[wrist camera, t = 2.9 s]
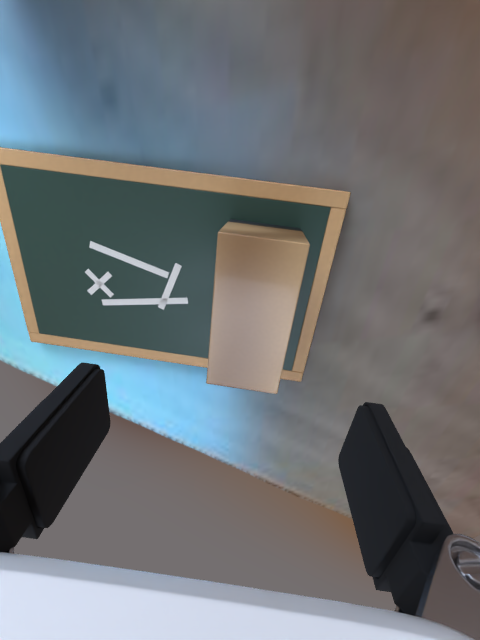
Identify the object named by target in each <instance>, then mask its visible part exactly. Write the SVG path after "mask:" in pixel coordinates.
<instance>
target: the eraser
mask: <svg viewBox="0 0 480 640" xmlns="http://www.w3.org/2000/svg"><path fill="white" fill-rule="evenodd" d="M309 247H310V244H309V242H308V240H307V238H306V237H305V235H304V233H303V231H302V230H301V228H295V227H287V226H280V225H272V224H264V223H257V222H249V221H242V220H234V219H230V220H229V221H228V222H227V223H226V224H225V225H224V226H223V227H222V228H221V229H220V231H219V232H218V237H217V250H216V263H215V276H214V289H213V303H212V316H211V329H210V342H209V355H208V368H207V382H206V383H207V384H214V385H220V386H227V387H233V388H240V389H247V390H253V391H260V392H266V393H273V394H277V392H278V388H279V383H280V379H281V374H282V370H283V365H284V361H285V356H286V351H287V347H288V342H289V338H290V333H291V329H292V324H293V320H294V315H295V311H296V306H297V302H298V297H299V293H300V288H301V284H302V279H303V275H304V270H305V266H306V261H307V257H308V252H309Z"/></svg>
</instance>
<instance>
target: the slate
mask: <svg viewBox="0 0 480 640" xmlns="http://www.w3.org/2000/svg"><path fill="white" fill-rule="evenodd" d="M350 194H351V193H350V192H346V191H339V190H331V189H323V188H315V187H307V186H299V185H292V184H284V183H276V182H268V181H260V180H252V179H245V178H237V177H229V176H221V175H213V174H205V173H197V172H190V171H182V170H174V169H166V168H158V167H150V166H143V165H135V164H127V163H119V162H111V161H103V160H96V159H88V158H80V157H72V156H64V155H56V154H49V153H41V152H33V151H25V150H17V149H9V148H2V147H0V222H1V226H2V230H3V234H4V238H5V242H6V246H7V250H8V254H9V258H10V262H11V265H12V269H13V273H14V277H15V281H16V285H17V289H18V293H19V297H20V301H21V305H22V309H23V313H24V317H25V321H26V325H27V329H28V332H29V336H30V340H31V341H32V342H39V343H45V344H52V345H59V346H65V347H72V348H79V349H85V350H92V351H99V352H105V353H112V354H119V355H126V356H132V357H139V358H146V359H152V360H159V361H166V362H172V363H179V364H186V365H192V366H199V367H206V368H208V355H209V342H210V329H211V316H212V303H213V289H214V276H215V263H216V250H217V237H218V232H219V231H220V229H221V228H222V227H223V226H224V225H225V224H226V223H227V222H228V221H229V220H230V219H234V220H242V221H249V222H257V223H264V224H272V225H280V226H287V227H295V228H301V230H302V231H303V233H304V235H305V237H306V238H307V240H308V242H309V244H310V247H309V252H308V257H307V261H306V266H305V270H304V275H303V279H302V284H301V288H300V293H299V297H298V302H297V306H296V311H295V315H294V320H293V324H292V329H291V333H290V338H289V342H288V347H287V351H286V356H285V361H284V365H283V370H282V374H281V379H286V380H293V381H299V382H301V380H302V376H303V372H304V369H305V365H306V361H307V357H308V353H309V350H310V346H311V342H312V338H313V334H314V331H315V327H316V323H317V319H318V315H319V312H320V308H321V304H322V300H323V296H324V293H325V289H326V285H327V281H328V277H329V273H330V270H331V266H332V262H333V258H334V254H335V251H336V247H337V243H338V239H339V235H340V232H341V228H342V224H343V220H344V216H345V213H346V208H347V205H348V201H349V198H350Z"/></svg>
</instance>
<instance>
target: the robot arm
mask: <svg viewBox="0 0 480 640" xmlns="http://www.w3.org/2000/svg"><path fill="white" fill-rule="evenodd" d="M109 428H110V415H109V407H108V399H107V391H106V382H105V374H104V370H102V369H100V366H99V365H96V364H89V363H80V364H79V365H78V366H77V367H76V368H75V369H74V370H73V371H72V372H71V373H70V374H69V375H68V376H67V377H66V378H65V379H64V380H63V381H62V382H61V383H60V384H59V385H58V386H57V387H56V388H55V389H54V390H53V391H52V393H50V394H49V395H48V396H47V397H46V398H45V399H44V400H43V401H42V402H41V403H40V404H39V405H38V406H37V407H36V408H35V409H34V410H33V411H32V412H31V413H30V414H29V415H28V416H27V417H26V418H25V419H24V420H23V421H22V422H21V423H20V424H19V425H18V426H17V427H16V428H15V429H14V430H13V431H12V432H11V433H10V434H9V435H8V436H7V437H6V438H5V439H4V440H3V441H2V442H1V443H0V640H480V543H479V542H477V541H476V540H474V539H472V538H471V537H468V536H465V535H462V534H453V532H452V530H451V528H450V526H449V524H448V522H447V520H446V519H445V517H444V515H443V513H442V511H441V509H440V507H439V505H438V503H437V502H436V500H435V498H434V496H433V494H432V492H431V490H430V488H429V486H428V485H427V483H426V481H425V479H424V477H423V475H422V473H421V471H420V469H419V468H418V466H417V464H416V462H415V460H414V458H413V456H412V454H411V453H410V451H409V450H408V448H406V447H405V445H404V443H403V441H402V439H401V437H400V435H399V433H398V431H397V430H396V428H395V426H394V424H393V422H392V420H391V418H390V416H389V414H388V412H387V410H386V408H385V407H384V405H382V404H376V403H368V402H365V403H364V404H363V406H359V407H358V409H357V411H356V414H355V416H354V419H353V421H352V424H351V427H350V429H349V432H348V434H347V437H346V439H345V442H344V444H343V447H342V449H341V452H340V454H339V468H340V472H341V476H342V480H343V483H344V487H345V491H346V495H347V499H348V503H349V507H350V511H351V514H352V518H353V522H354V526H355V530H356V534H357V538H358V542H359V545H360V549H361V553H362V557H363V561H364V565H365V568H366V571H367V573H368V575H369V576H372V577H373V580H374V584H375V588H376V590H380V591H387V592H391V593H392V596H393V599H394V603H395V604H396V605H397V606H396V608H395V611H390V610H384V609H379V608H373V607H368V606H362V605H357V604H350V603H345V602H340V601H334V600H326V599H321V598H314V597H308V596H302V595H295V594H289V593H282V592H276V591H269V590H262V589H256V588H250V587H243V586H237V585H230V584H224V583H217V582H210V581H204V580H198V579H191V578H184V577H177V576H171V575H164V574H157V573H151V572H144V571H137V570H130V569H123V568H116V567H109V566H102V565H96V564H89V563H81V562H75V561H68V560H61V559H53V558H45V557H37V556H29V555H21V554H14V547H15V546H16V544H17V543H18V541H19V540H20V538H21V537H26V538H33V539H38V537H39V536H40V534H41V533H42V531H43V529H44V528H48V527H49V526H50V525H51V524H52V523H53V522H54V520H55V518H56V517H57V515H58V513H59V512H60V510H61V509H62V507H63V505H64V504H65V502H66V500H67V499H68V497H69V495H70V493H71V492H72V490H73V489H74V487H75V486H76V484H77V482H78V481H79V479H80V477H81V476H82V474H83V472H84V471H85V469H86V467H87V466H88V464H89V463H90V461H91V459H92V458H93V456H94V454H95V453H96V451H97V449H98V448H99V446H100V445H101V443H102V441H103V440H104V438H105V436H106V435H107V433H108V431H109Z"/></svg>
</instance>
